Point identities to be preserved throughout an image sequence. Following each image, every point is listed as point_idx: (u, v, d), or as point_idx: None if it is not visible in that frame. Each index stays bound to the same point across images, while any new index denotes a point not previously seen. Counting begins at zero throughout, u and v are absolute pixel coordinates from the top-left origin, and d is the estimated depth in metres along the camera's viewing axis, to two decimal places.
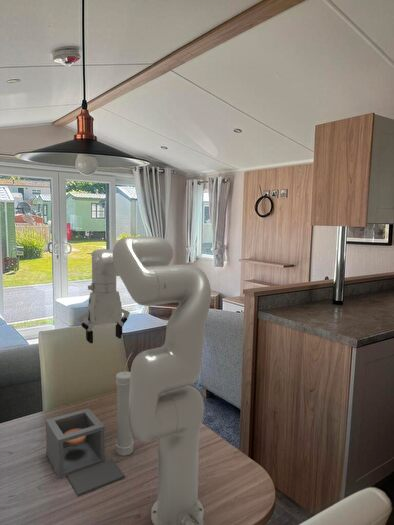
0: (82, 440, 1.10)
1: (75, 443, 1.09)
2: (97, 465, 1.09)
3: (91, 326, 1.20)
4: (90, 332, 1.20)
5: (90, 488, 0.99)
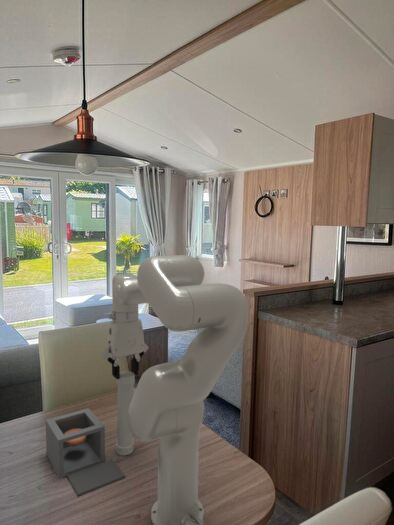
0: (82, 440, 1.10)
1: (75, 443, 1.09)
2: (97, 465, 1.09)
3: (116, 360, 1.11)
4: (117, 367, 1.12)
5: (90, 488, 0.99)
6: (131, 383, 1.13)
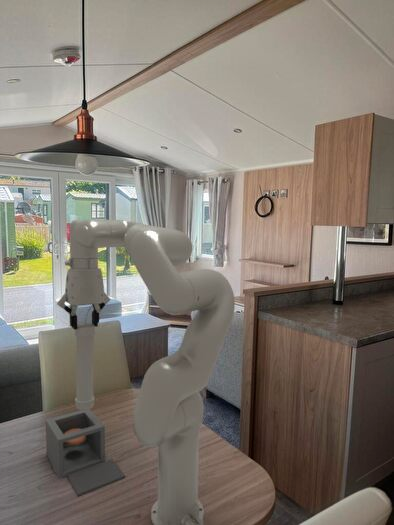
0: (82, 440, 1.10)
1: (75, 443, 1.09)
2: (97, 465, 1.09)
3: (74, 309, 1.06)
4: (74, 317, 1.07)
5: (90, 488, 0.99)
6: (90, 334, 1.08)
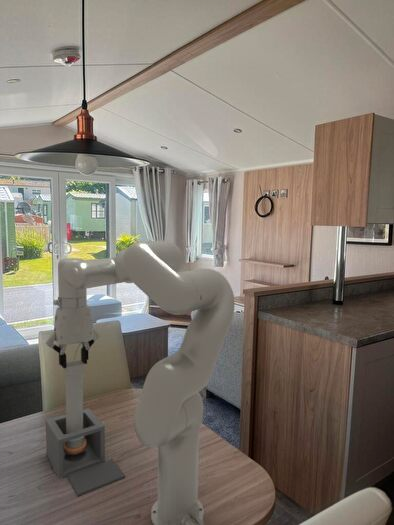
0: (82, 449, 1.11)
1: (75, 452, 1.09)
2: (97, 465, 1.09)
3: (63, 348, 1.06)
4: (63, 356, 1.07)
5: (90, 488, 0.99)
6: (79, 372, 1.08)
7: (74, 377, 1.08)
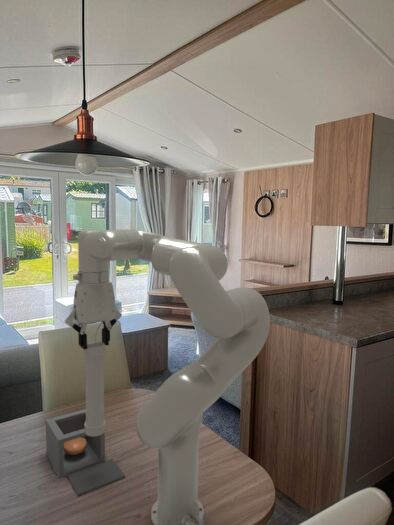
0: (82, 449, 1.11)
1: (75, 452, 1.09)
2: (97, 465, 1.09)
3: (83, 327, 0.97)
4: (83, 335, 0.98)
5: (90, 488, 0.99)
6: (100, 354, 0.99)
7: (95, 359, 0.99)
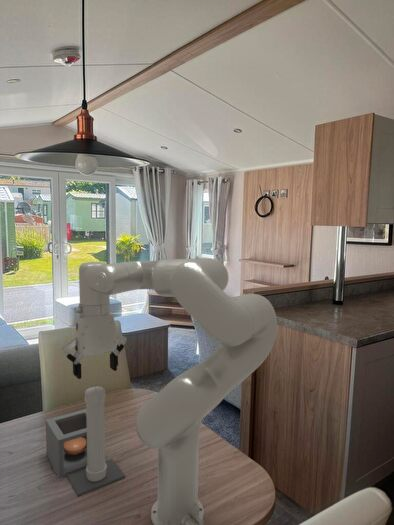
0: (82, 449, 1.11)
1: (75, 452, 1.09)
2: None
3: (79, 358, 0.97)
4: (78, 365, 0.97)
5: (90, 488, 0.99)
6: (101, 400, 1.00)
7: (96, 406, 1.00)
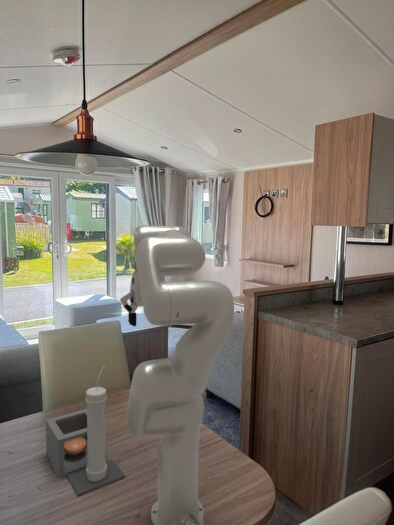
0: (82, 449, 1.11)
1: (75, 452, 1.09)
2: None
3: (135, 308, 1.12)
4: (133, 314, 1.12)
5: (90, 488, 0.99)
6: (102, 401, 1.00)
7: (96, 406, 1.00)
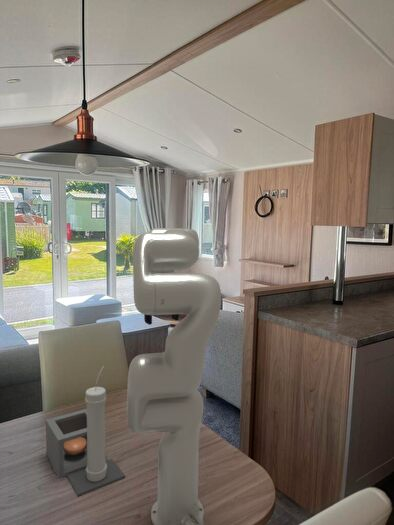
0: (82, 449, 1.11)
1: (75, 452, 1.09)
2: None
3: None
4: None
5: (90, 488, 0.99)
6: (101, 401, 1.00)
7: (96, 406, 1.00)
